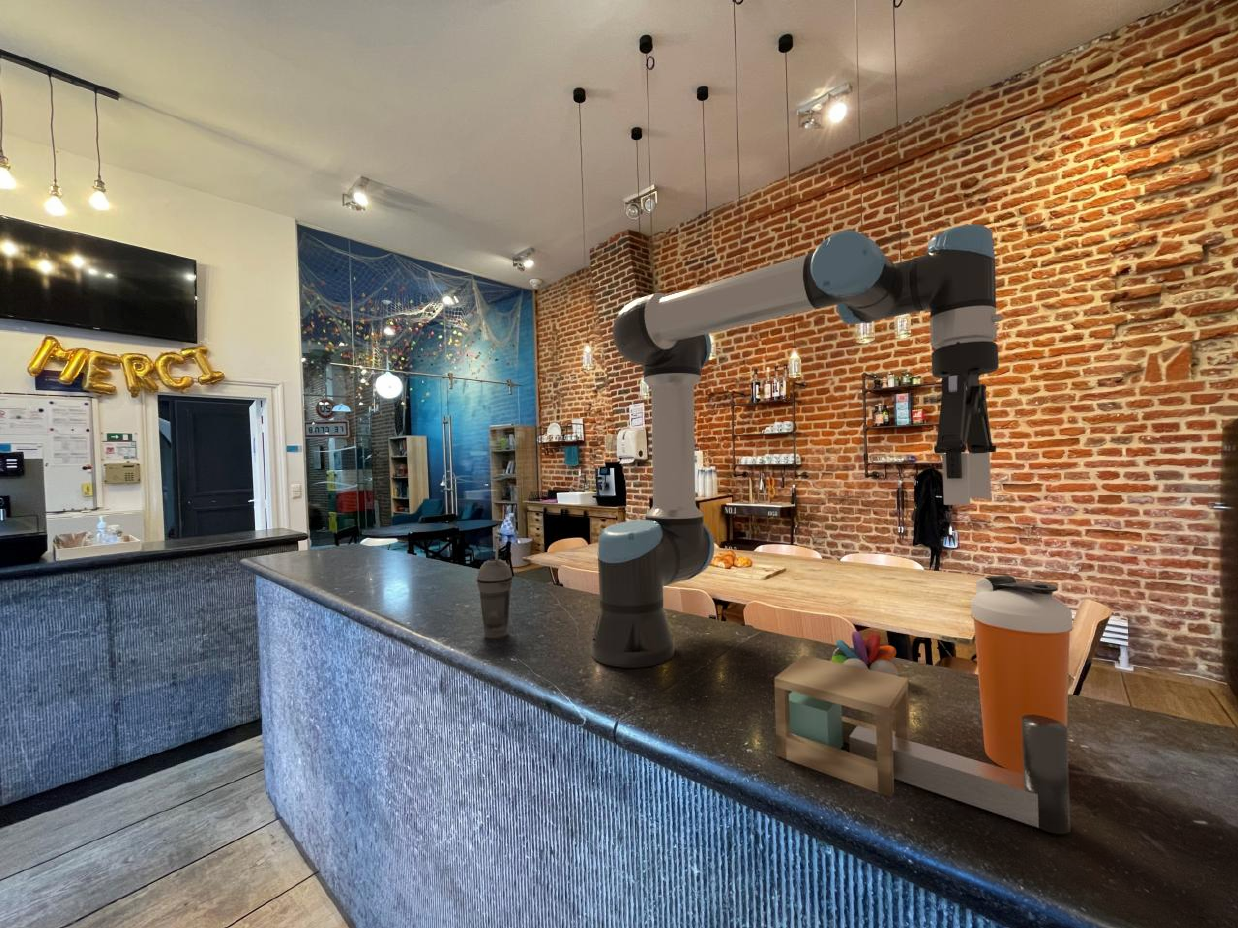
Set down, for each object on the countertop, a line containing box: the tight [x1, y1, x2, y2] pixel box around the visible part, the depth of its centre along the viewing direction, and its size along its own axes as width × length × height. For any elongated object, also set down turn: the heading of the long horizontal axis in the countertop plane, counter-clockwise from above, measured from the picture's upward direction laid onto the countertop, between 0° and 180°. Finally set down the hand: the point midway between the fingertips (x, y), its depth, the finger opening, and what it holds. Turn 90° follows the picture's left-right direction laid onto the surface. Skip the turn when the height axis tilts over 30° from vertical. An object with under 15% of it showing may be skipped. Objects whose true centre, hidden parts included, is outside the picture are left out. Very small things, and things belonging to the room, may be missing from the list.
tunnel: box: [773, 654, 911, 798], centre depth 58 cm, size 12×9×9 cm
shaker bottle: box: [970, 575, 1073, 774], centre depth 57 cm, size 9×9×20 cm
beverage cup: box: [476, 537, 514, 639], centre depth 105 cm, size 7×7×20 cm
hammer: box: [849, 715, 1071, 835], centre depth 52 cm, size 18×3×9 cm, turn 49°
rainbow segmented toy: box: [830, 630, 900, 676], centre depth 79 cm, size 8×10×7 cm
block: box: [789, 691, 844, 750], centre depth 61 cm, size 5×5×6 cm
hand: (969, 501), depth 69 cm, fingers open, 13 cm apart
